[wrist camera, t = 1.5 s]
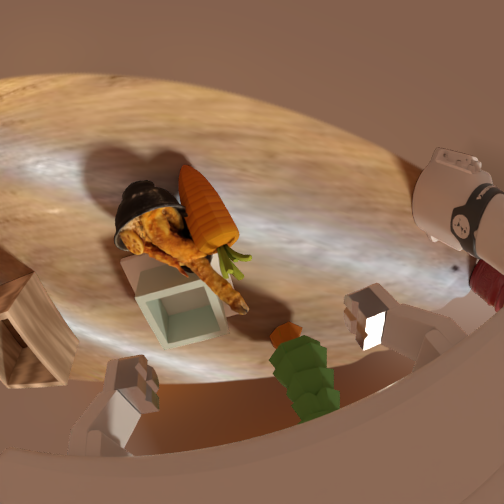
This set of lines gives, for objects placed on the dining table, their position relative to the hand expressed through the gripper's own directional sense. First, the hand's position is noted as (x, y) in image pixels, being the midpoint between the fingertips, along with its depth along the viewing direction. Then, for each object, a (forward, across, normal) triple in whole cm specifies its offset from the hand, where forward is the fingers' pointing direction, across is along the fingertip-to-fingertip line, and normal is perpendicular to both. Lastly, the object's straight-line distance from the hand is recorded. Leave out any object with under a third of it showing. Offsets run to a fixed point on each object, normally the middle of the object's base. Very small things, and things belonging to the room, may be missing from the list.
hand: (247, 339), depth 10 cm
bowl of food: (+26, +7, -2) cm, 27 cm away
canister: (+27, -67, +38) cm, 82 cm away
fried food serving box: (+27, +38, +12) cm, 48 cm away
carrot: (+26, +2, -3) cm, 27 cm away
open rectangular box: (+27, +7, +14) cm, 31 cm away
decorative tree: (+27, -7, +30) cm, 41 cm away
